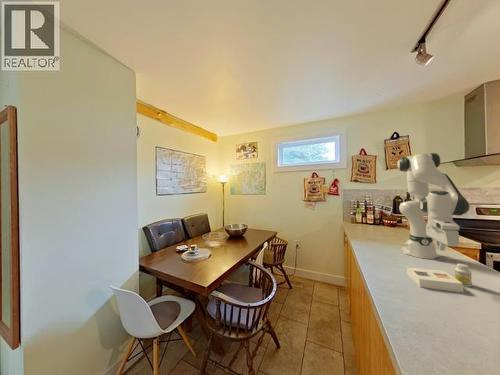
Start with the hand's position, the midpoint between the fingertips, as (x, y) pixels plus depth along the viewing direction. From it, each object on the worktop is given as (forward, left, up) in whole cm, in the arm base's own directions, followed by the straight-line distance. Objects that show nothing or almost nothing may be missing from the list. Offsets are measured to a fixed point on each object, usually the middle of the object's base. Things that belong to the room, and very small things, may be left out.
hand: (440, 249), depth 94 cm
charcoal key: (+1, -8, -17) cm, 18 cm away
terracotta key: (+1, 0, -17) cm, 17 cm away
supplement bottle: (-2, +9, -17) cm, 20 cm away
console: (+1, -4, -17) cm, 18 cm away
